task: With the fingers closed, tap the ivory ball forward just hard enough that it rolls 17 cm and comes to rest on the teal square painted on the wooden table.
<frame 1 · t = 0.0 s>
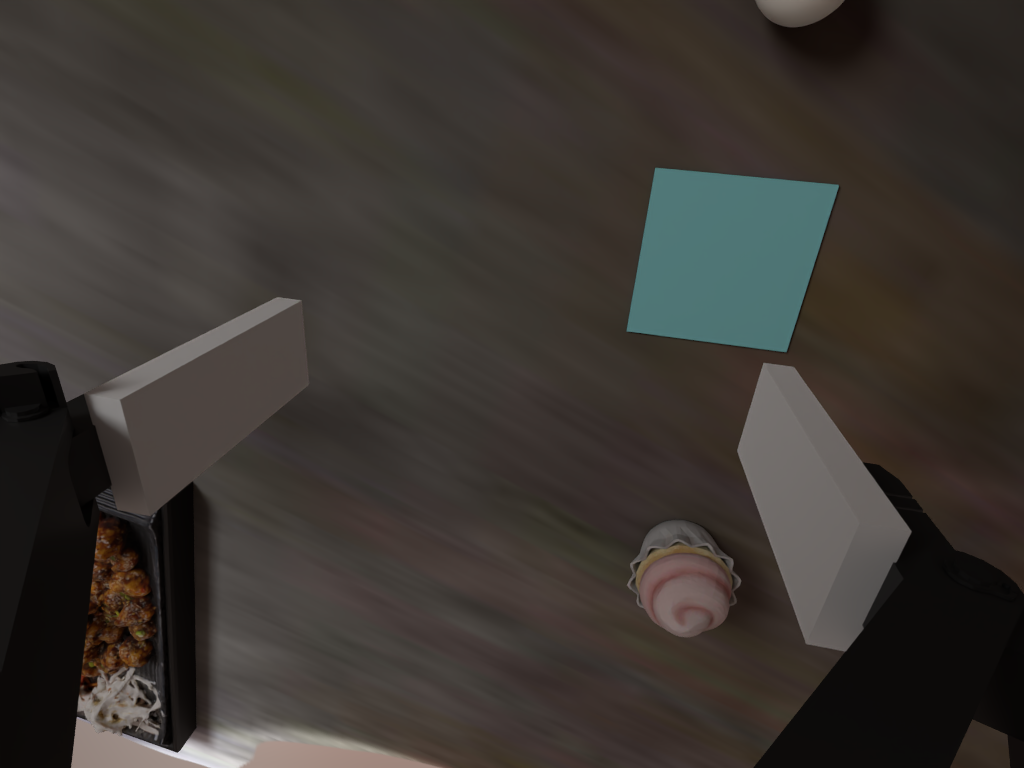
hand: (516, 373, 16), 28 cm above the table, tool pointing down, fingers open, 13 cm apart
food platter: (110, 585, 70), on the table
cupcake: (677, 543, 51), on the table
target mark: (723, 263, 40), on the table
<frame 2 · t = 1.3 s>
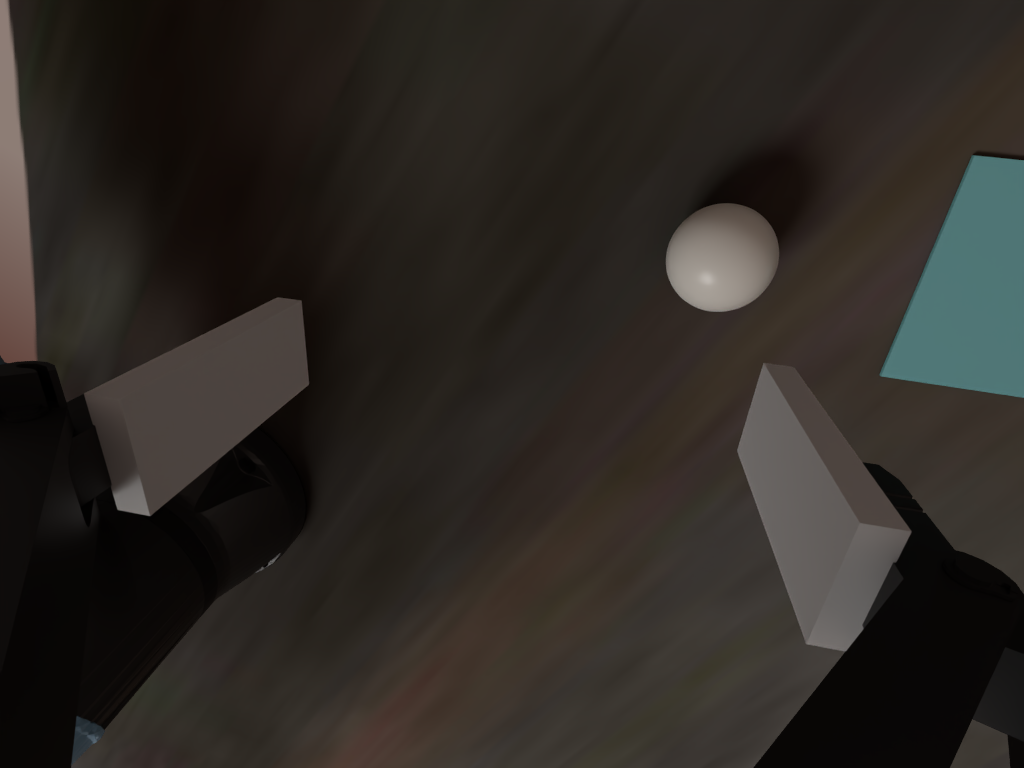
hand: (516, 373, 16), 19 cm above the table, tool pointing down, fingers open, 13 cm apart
ball: (720, 258, 29), on the table
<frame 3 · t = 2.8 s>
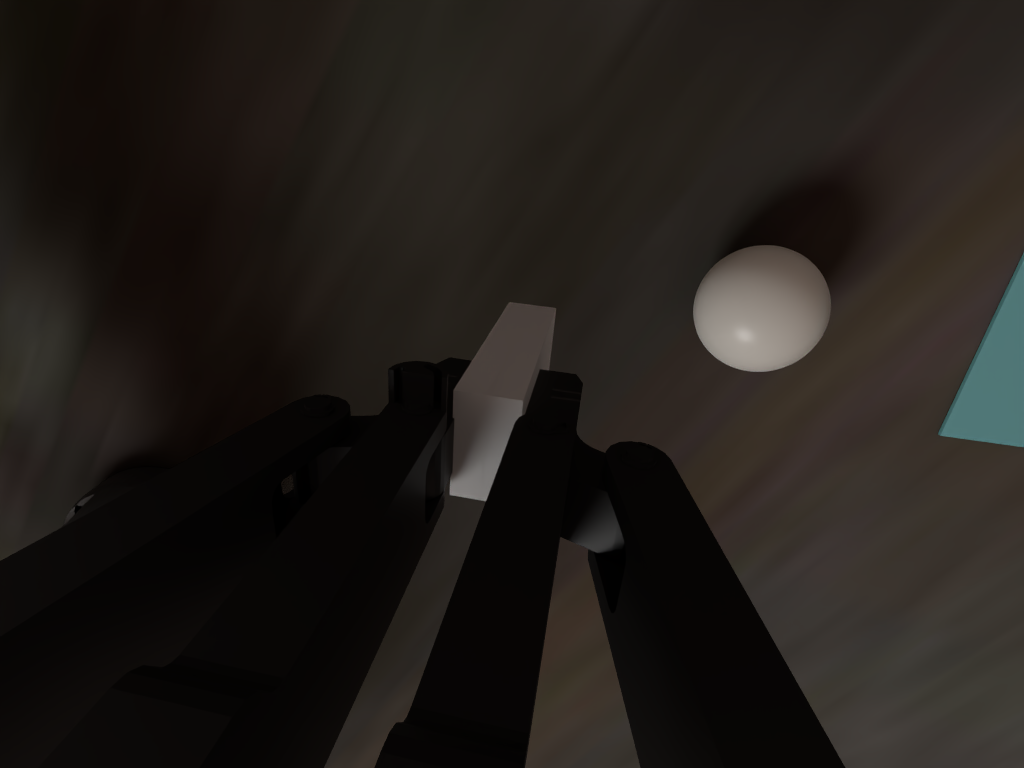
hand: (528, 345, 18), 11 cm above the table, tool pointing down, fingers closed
ball: (758, 309, 24), on the table
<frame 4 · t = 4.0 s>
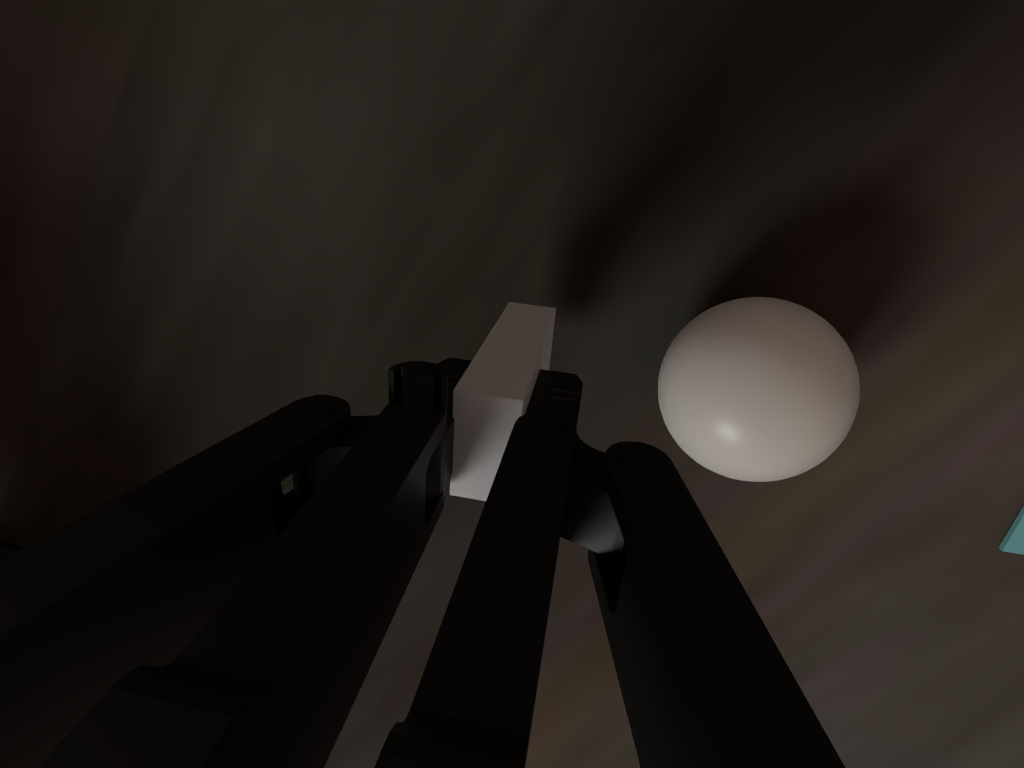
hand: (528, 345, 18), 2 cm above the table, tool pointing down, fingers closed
ball: (752, 389, 17), on the table
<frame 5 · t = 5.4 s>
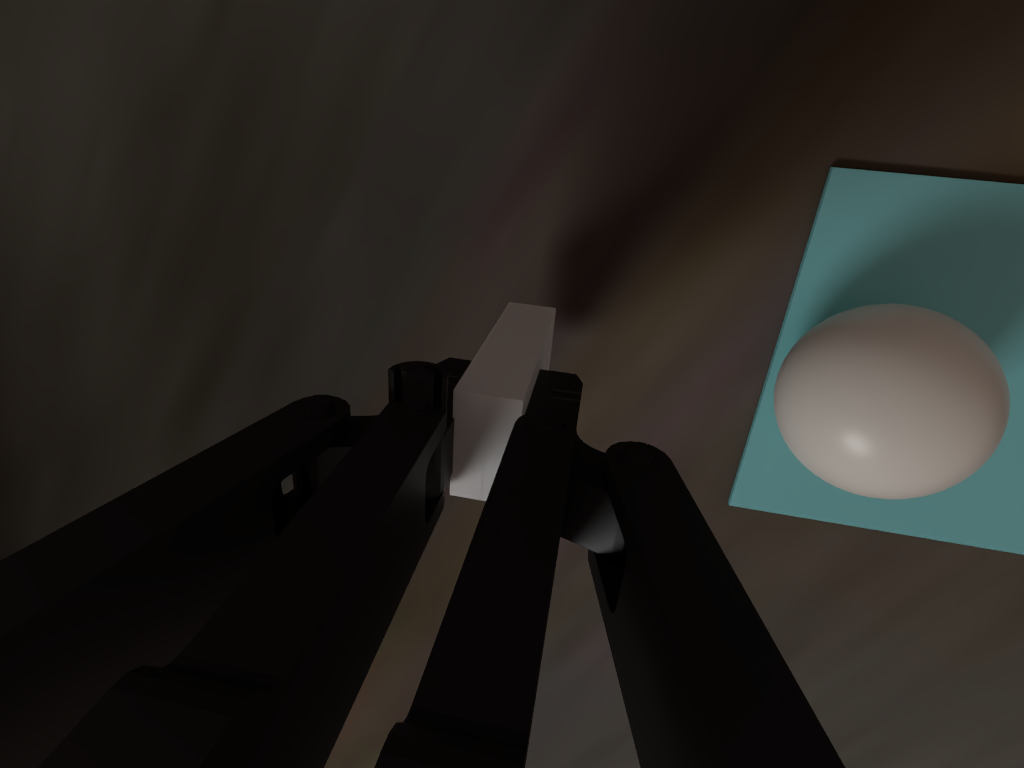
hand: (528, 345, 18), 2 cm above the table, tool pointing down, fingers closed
ball: (880, 400, 16), on the table
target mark: (966, 383, 18), on the table
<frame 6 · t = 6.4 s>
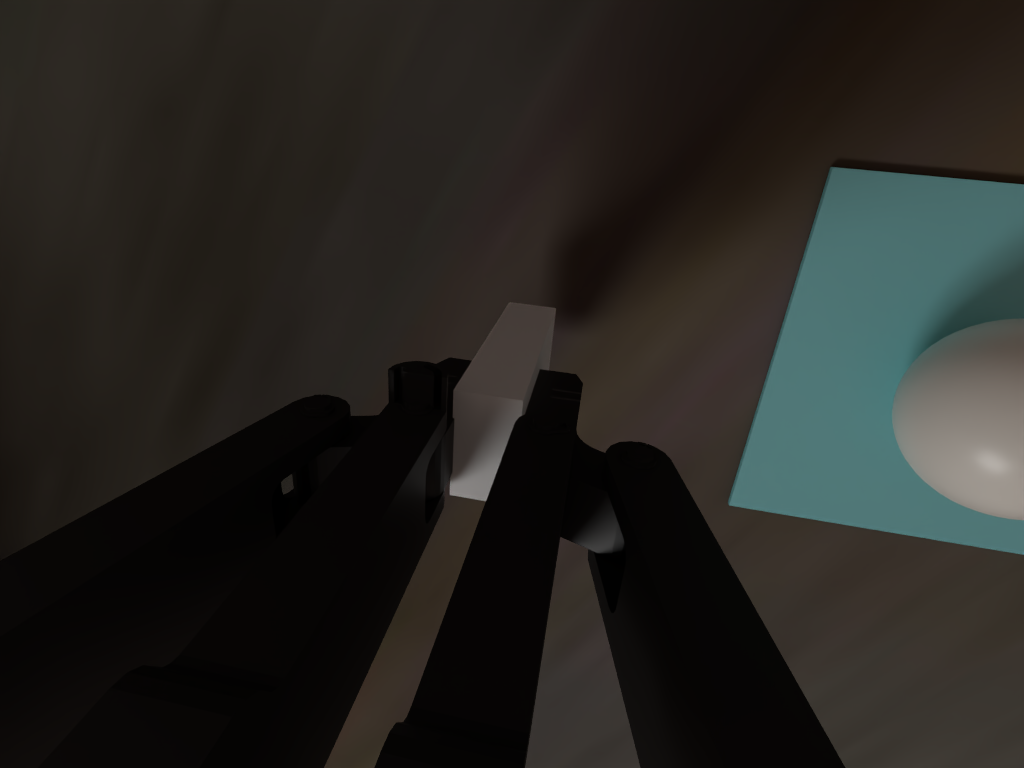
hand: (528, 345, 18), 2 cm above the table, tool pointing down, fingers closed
ball: (1012, 418, 15), on the table
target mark: (966, 383, 18), on the table
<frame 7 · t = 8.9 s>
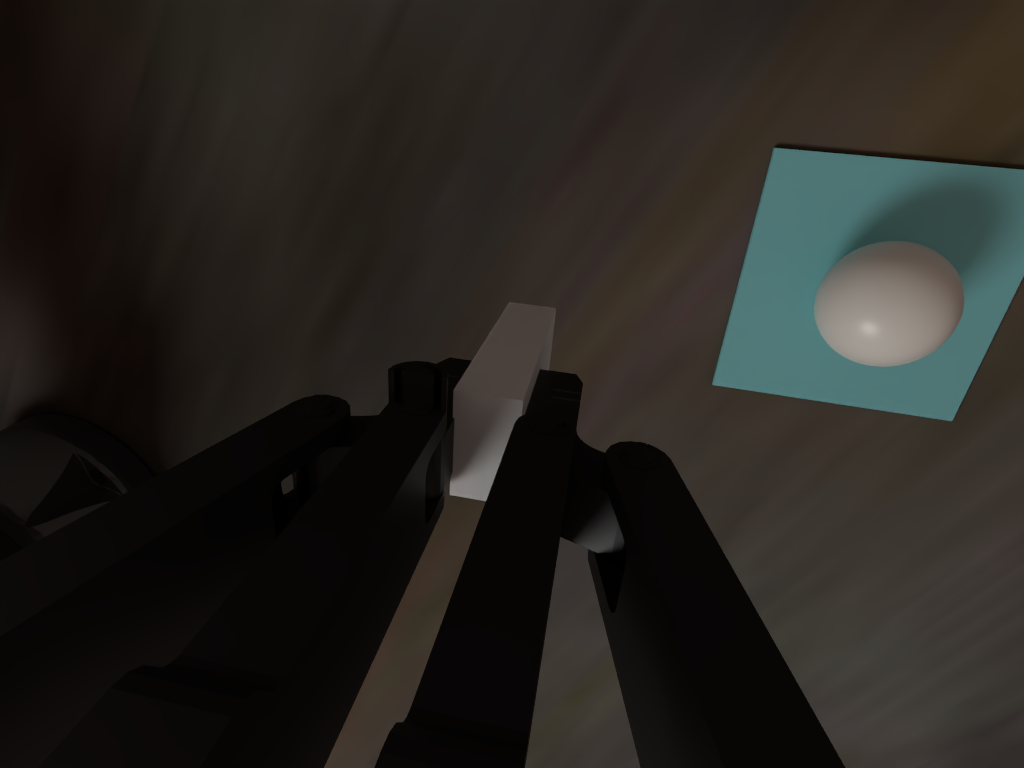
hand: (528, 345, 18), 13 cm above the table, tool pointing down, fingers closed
ball: (884, 304, 25), on the table
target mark: (867, 292, 27), on the table
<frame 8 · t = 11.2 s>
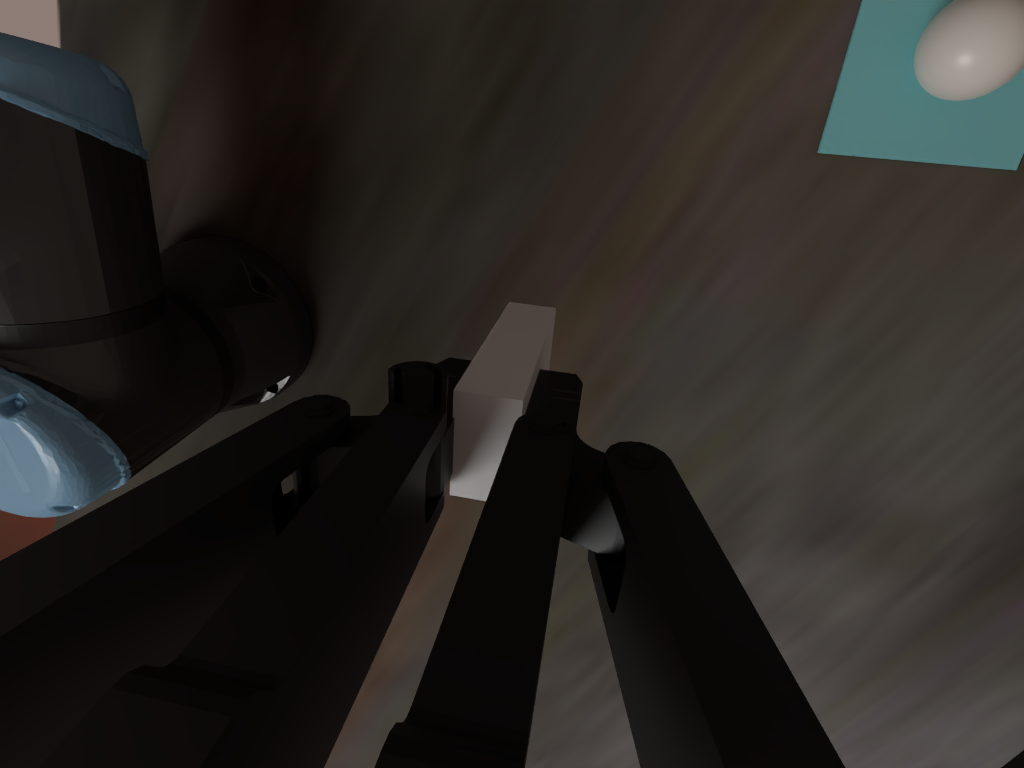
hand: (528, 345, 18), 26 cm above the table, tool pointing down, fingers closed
ball: (973, 46, 31), on the table
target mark: (952, 55, 34), on the table
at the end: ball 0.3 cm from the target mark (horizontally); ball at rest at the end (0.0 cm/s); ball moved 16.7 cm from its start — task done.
